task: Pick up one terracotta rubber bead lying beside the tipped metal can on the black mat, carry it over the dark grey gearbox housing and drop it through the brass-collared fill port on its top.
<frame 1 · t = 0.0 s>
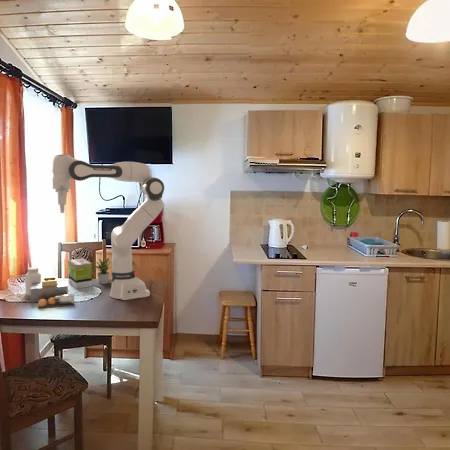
hand: (62, 211, 211), 48 cm above the table, fingers open, 8 cm apart
bead a: (42, 306, 205), resting on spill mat
house plant: (103, 282, 254), on the table
pill bottle: (33, 294, 226), on the table
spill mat: (56, 305, 208), on the table
bead b: (52, 304, 208), resting on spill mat, touching spout can
spout can: (66, 304, 210), resting on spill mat
gearbox: (50, 298, 219), on the table
tea box: (80, 285, 247), on the table
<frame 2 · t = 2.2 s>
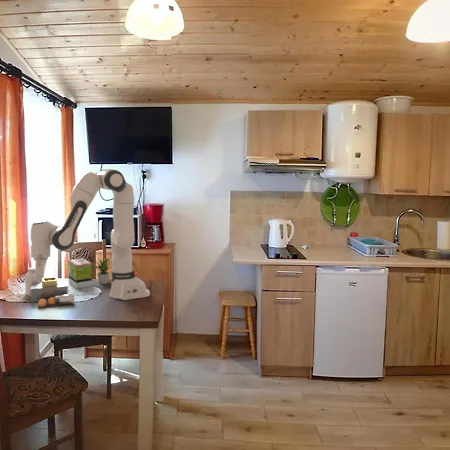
hand: (41, 280, 203), 15 cm above the table, fingers open, 8 cm apart
nothing on the table moved.
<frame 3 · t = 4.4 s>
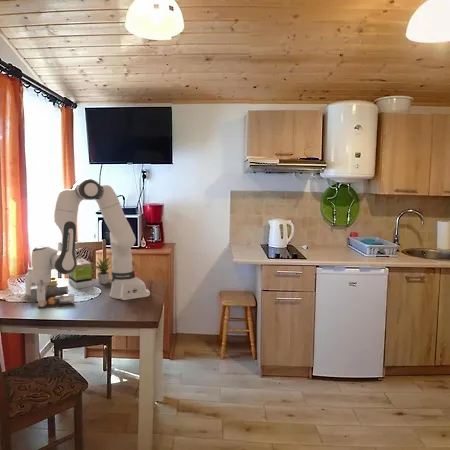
hand: (42, 304, 204), 2 cm above the table, fingers closed on bead a, 4 cm apart
bead a: (42, 306, 205), resting on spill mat, touching gripper
everything else where it was.
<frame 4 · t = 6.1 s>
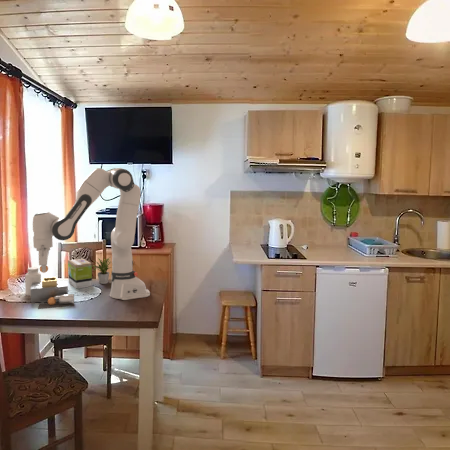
hand: (44, 270, 206), 19 cm above the table, fingers closed on bead a, 4 cm apart
bead a: (44, 272, 206), point 17 cm above the table, touching gripper
everything else where it was.
when the fingers open (13 cm above the table, at t = 8.2 s): bead a drops 11 cm, resting on gearbox.
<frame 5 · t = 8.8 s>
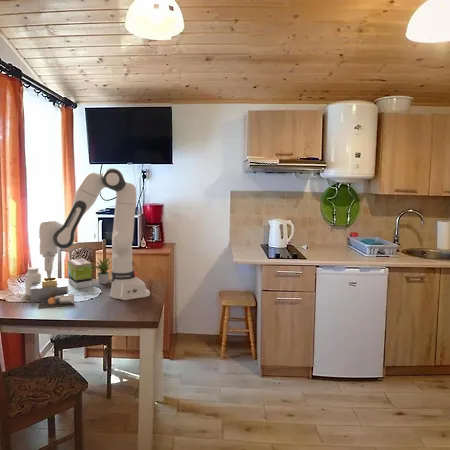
hand: (49, 275, 217), 13 cm above the table, fingers open, 8 cm apart
bead a: (50, 297, 219), point 1 cm above the table, tilted 6°, touching gearbox
everything else where it was.
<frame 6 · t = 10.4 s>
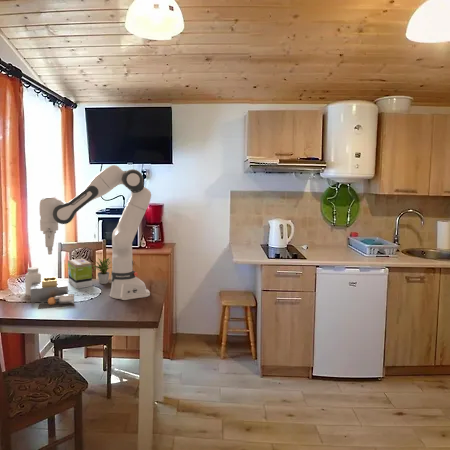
hand: (50, 252, 216), 25 cm above the table, fingers open, 8 cm apart
bead a: (50, 297, 219), point 1 cm above the table, tilted 22°, touching gearbox
everything else where it was.
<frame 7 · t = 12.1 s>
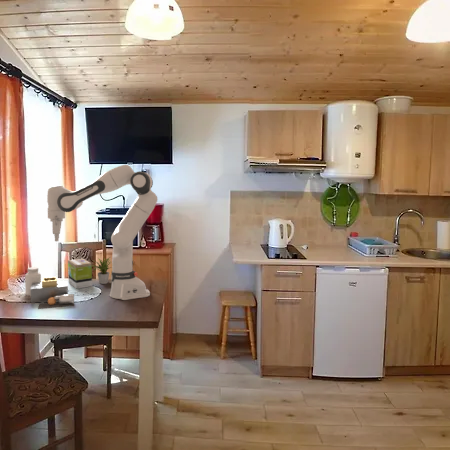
hand: (57, 239, 223), 31 cm above the table, fingers open, 8 cm apart
bead a: (50, 296, 219), point 1 cm above the table, tilted 39°, touching gearbox
everything else where it was.
at the end: bead a inside the target area on the gearbox (0.1 cm from its centre), point 1.1 cm above the gearbox's base; the gripper is holding nothing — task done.
